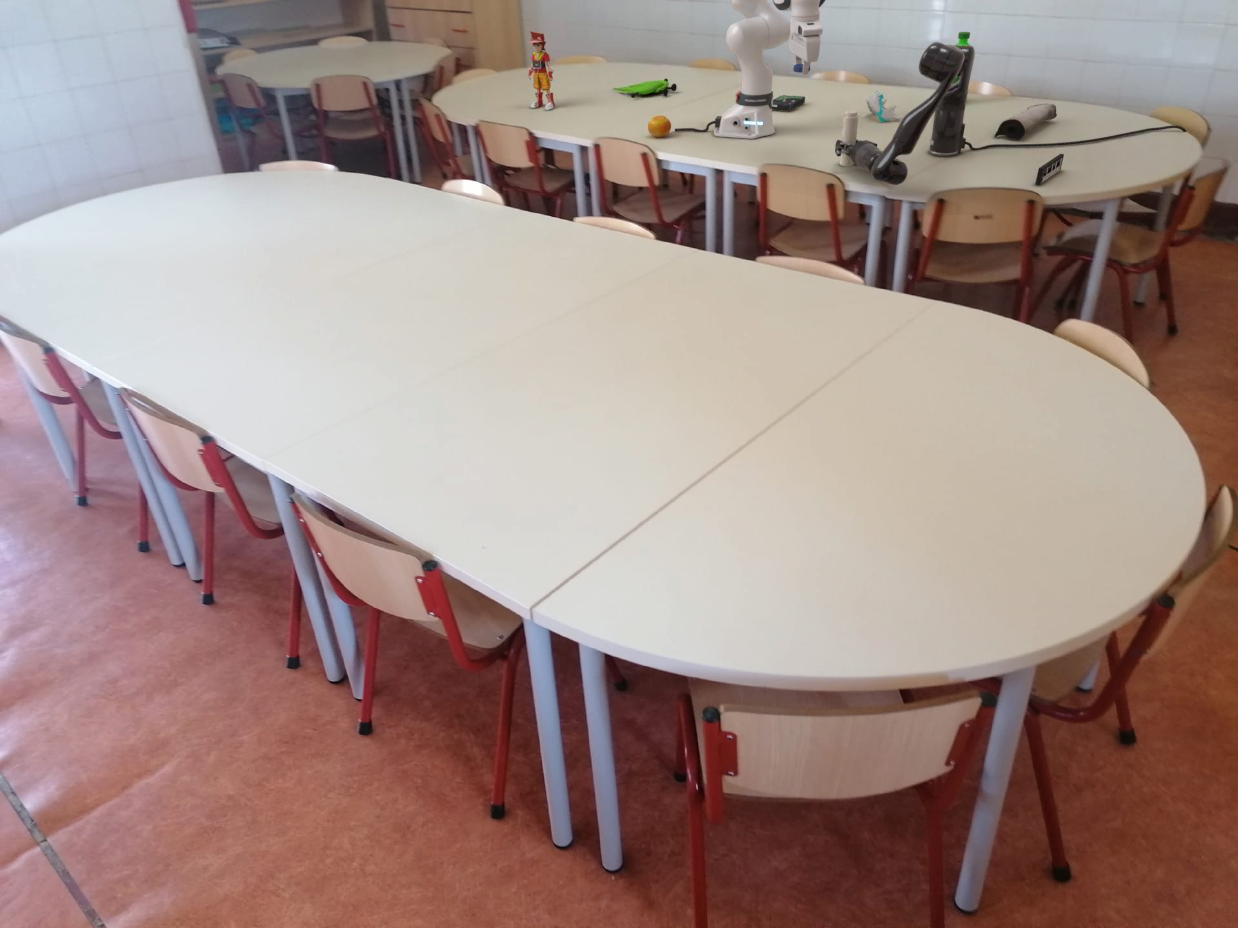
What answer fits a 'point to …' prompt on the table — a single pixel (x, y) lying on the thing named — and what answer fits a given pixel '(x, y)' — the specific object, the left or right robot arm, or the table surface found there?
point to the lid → (799, 68)
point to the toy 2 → (648, 88)
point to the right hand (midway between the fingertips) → (845, 142)
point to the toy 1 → (541, 71)
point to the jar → (849, 134)
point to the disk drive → (787, 102)
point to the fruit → (659, 126)
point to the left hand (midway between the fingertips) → (801, 72)
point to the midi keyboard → (1049, 169)
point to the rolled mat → (1026, 121)
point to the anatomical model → (880, 107)
